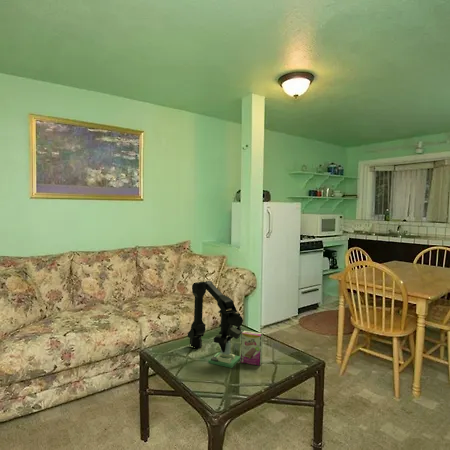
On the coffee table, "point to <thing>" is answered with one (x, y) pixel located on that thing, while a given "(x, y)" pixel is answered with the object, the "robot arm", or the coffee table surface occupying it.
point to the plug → (227, 348)
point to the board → (224, 360)
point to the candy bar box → (251, 347)
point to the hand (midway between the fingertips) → (225, 350)
